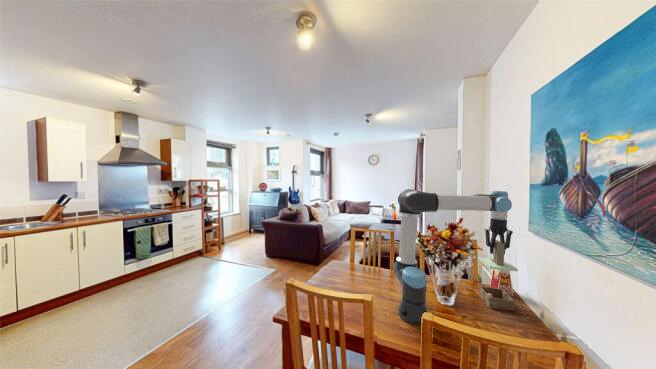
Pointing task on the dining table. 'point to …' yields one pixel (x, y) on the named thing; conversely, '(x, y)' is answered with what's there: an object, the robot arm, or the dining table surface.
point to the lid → (498, 259)
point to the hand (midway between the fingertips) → (496, 259)
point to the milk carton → (502, 281)
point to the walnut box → (497, 298)
